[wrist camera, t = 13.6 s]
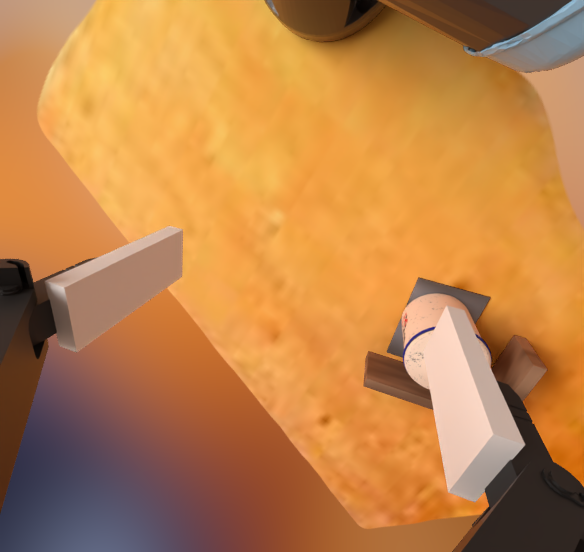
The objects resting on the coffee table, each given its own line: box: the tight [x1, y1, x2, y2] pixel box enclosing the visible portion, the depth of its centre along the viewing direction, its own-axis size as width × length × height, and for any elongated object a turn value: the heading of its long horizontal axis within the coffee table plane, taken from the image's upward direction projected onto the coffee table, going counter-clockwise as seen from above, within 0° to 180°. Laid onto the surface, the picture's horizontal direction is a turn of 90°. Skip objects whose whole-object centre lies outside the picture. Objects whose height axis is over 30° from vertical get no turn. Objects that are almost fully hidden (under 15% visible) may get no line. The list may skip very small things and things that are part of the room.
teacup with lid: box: [402, 293, 492, 390], centre depth 37 cm, size 12×9×12 cm
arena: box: [364, 278, 547, 410], centre depth 40 cm, size 16×18×6 cm
